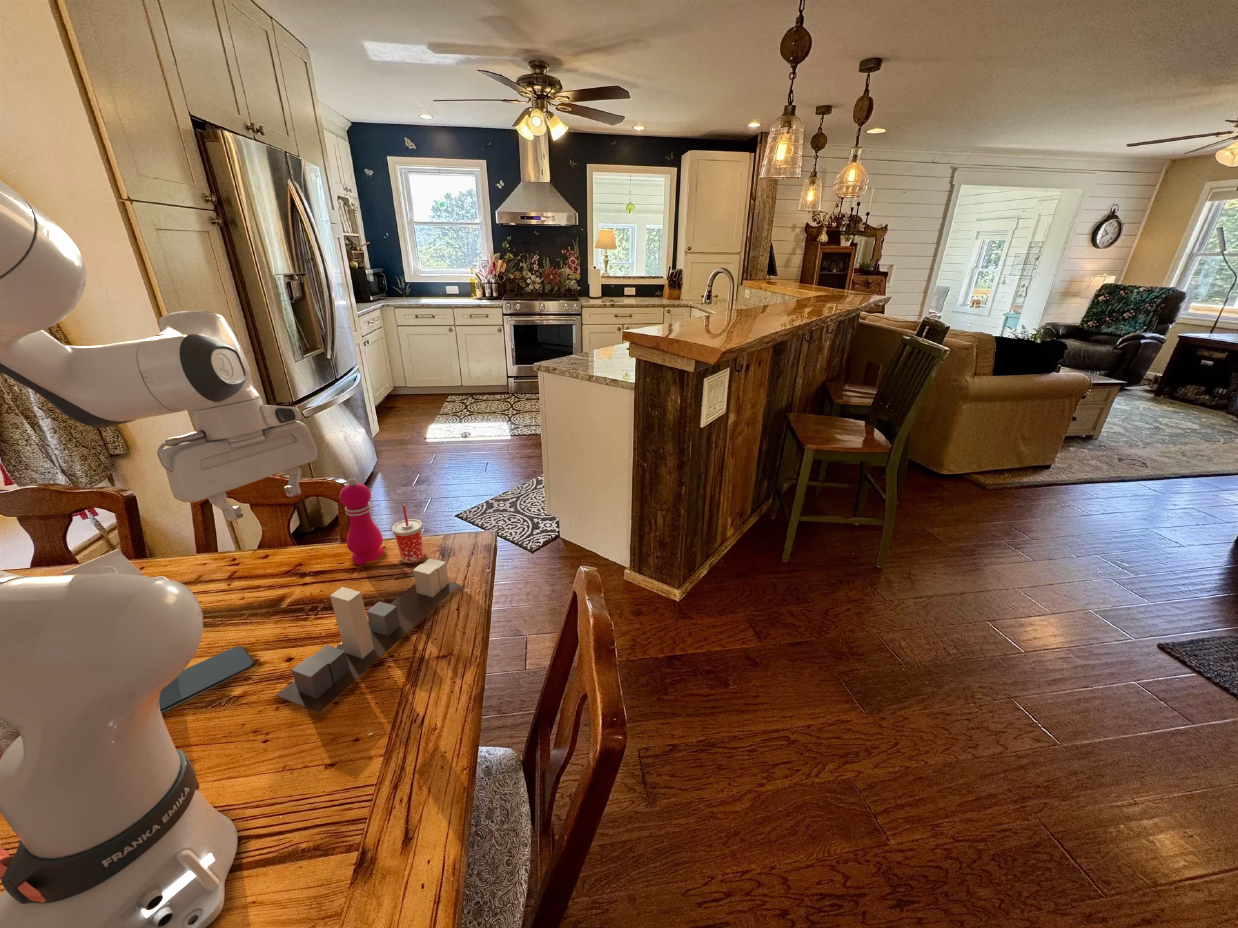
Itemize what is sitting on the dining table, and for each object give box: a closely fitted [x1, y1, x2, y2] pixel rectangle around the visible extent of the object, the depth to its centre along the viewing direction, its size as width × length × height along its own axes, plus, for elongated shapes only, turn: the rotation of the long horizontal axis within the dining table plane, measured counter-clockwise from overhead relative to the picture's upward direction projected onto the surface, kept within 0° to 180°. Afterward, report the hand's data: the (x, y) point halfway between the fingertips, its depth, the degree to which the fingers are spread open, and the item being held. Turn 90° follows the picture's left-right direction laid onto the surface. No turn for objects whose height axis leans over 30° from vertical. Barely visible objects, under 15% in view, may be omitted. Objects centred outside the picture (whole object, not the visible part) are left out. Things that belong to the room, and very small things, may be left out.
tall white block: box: [329, 586, 374, 659], centre depth 82 cm, size 2×4×12 cm, turn 70°
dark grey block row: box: [290, 601, 400, 699], centre depth 83 cm, size 18×4×4 cm, turn 160°
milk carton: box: [62, 548, 144, 576], centre depth 81 cm, size 7×7×19 cm
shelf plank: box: [276, 581, 461, 714], centre depth 89 cm, size 34×9×1 cm, turn 160°
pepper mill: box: [339, 477, 384, 566], centre depth 108 cm, size 7×7×20 cm
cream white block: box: [412, 558, 450, 597], centre depth 100 cm, size 5×4×6 cm
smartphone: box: [159, 645, 255, 715], centre depth 78 cm, size 8×2×15 cm
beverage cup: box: [391, 504, 425, 563], centre depth 109 cm, size 6×6×14 cm
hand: (266, 506), depth 79 cm, fingers open, 8 cm apart
